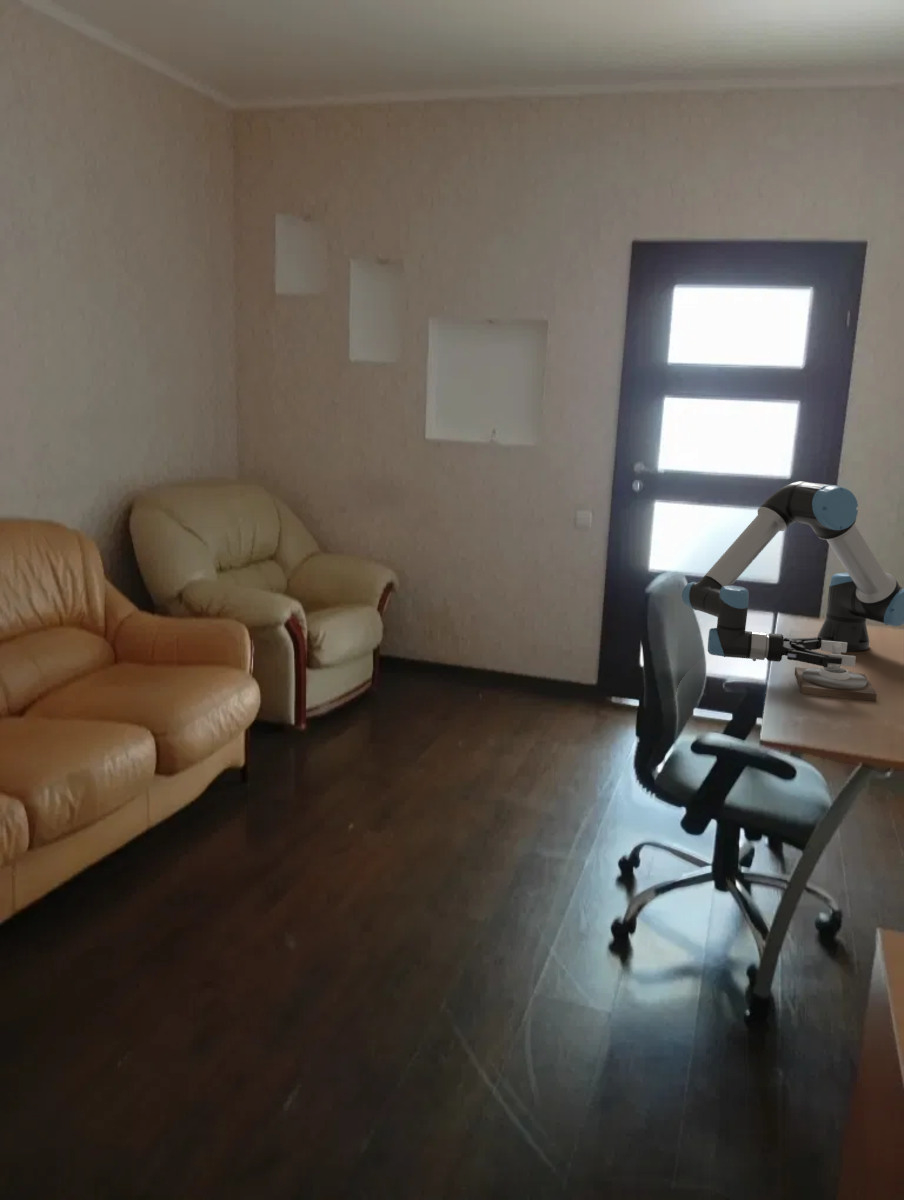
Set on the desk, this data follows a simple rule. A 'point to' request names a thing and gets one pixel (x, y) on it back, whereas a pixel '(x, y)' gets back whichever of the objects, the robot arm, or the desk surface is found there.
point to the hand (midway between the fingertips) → (850, 654)
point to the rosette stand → (834, 685)
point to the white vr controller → (835, 667)
